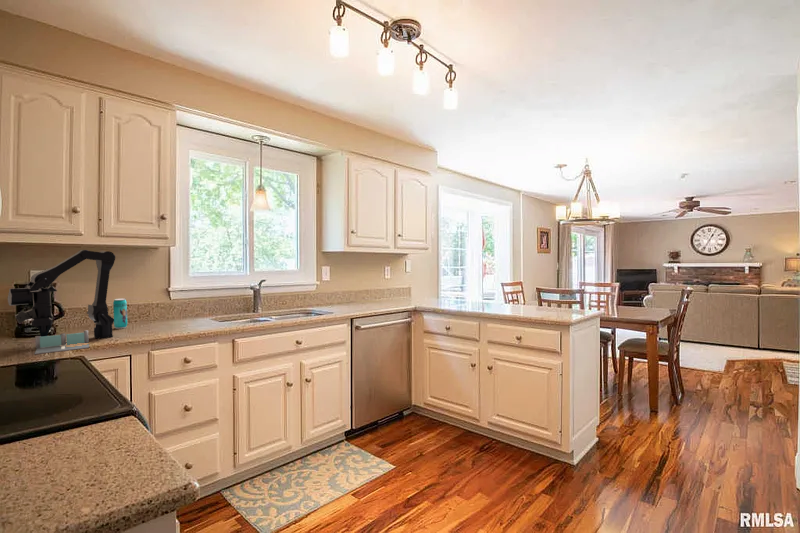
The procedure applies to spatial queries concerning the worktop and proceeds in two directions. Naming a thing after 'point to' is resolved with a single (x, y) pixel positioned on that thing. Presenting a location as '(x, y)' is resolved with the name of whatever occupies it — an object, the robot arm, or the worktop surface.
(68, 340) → the fence fixed
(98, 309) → the robot arm
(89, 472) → the worktop surface
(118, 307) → the beverage can
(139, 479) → the worktop surface
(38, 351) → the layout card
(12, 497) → the worktop surface
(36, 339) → the fence gate
